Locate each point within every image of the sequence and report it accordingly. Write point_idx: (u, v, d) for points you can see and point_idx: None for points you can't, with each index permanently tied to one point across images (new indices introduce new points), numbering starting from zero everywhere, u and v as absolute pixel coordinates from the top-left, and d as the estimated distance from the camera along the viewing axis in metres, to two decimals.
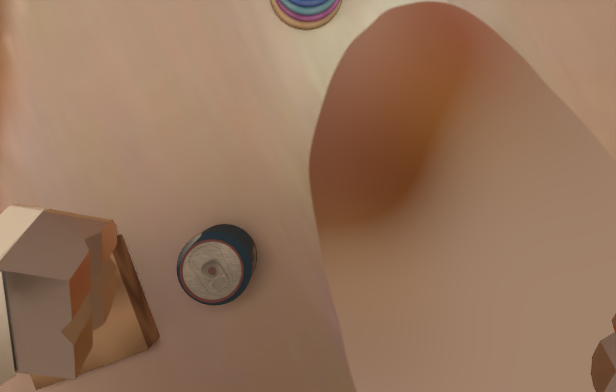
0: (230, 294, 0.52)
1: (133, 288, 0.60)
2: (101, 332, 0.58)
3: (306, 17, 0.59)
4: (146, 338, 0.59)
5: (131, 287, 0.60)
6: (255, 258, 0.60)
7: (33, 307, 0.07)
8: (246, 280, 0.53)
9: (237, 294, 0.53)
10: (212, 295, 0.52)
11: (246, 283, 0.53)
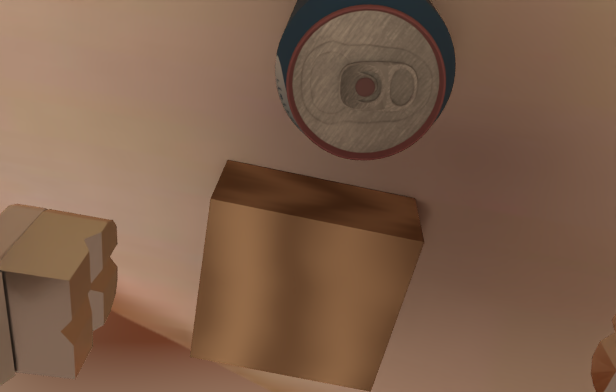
0: (441, 80, 0.20)
1: (316, 200, 0.33)
2: (350, 284, 0.33)
3: None
4: (406, 231, 0.32)
5: (313, 204, 0.33)
6: None
7: (33, 307, 0.07)
8: (435, 23, 0.20)
9: (451, 61, 0.21)
10: (416, 116, 0.21)
11: (442, 27, 0.21)
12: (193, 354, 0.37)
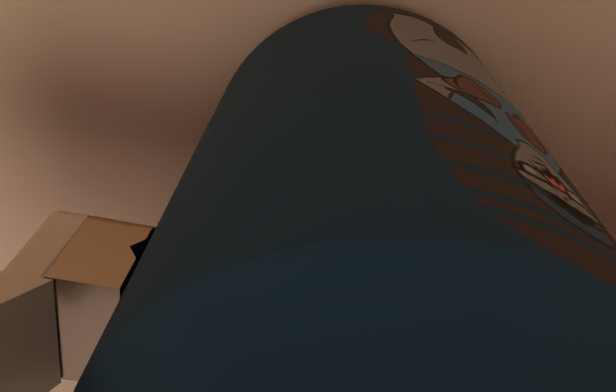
0: None
1: None
2: None
3: None
4: None
5: None
6: (460, 57, 0.10)
7: (82, 315, 0.07)
8: None
9: None
10: None
11: None
12: None
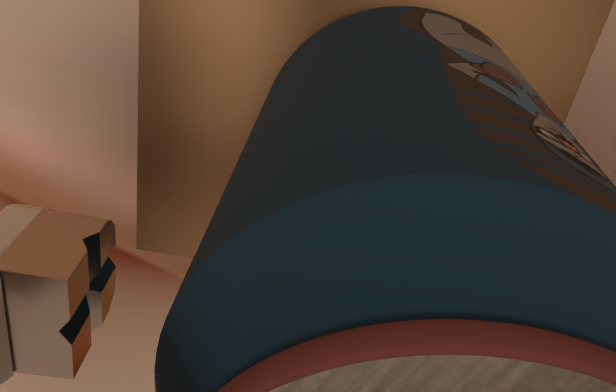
0: None
1: None
2: None
3: None
4: None
5: None
6: (486, 48, 0.11)
7: (31, 307, 0.07)
8: None
9: None
10: None
11: None
12: (143, 244, 0.19)
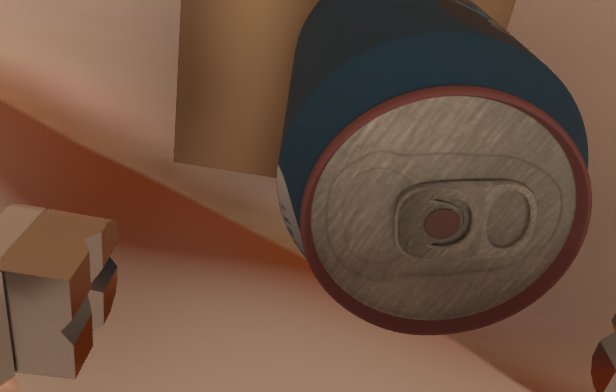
0: (580, 204, 0.11)
1: None
2: None
3: None
4: None
5: None
6: None
7: (33, 307, 0.07)
8: (562, 103, 0.11)
9: (586, 162, 0.12)
10: (530, 260, 0.12)
11: (571, 106, 0.12)
12: (178, 157, 0.24)
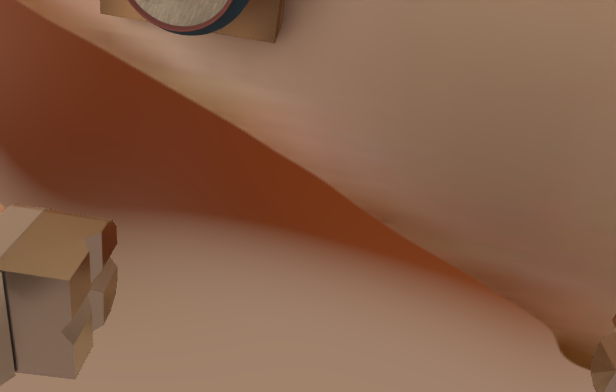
0: None
1: None
2: None
3: None
4: None
5: None
6: None
7: (33, 307, 0.07)
8: None
9: None
10: None
11: None
12: (103, 10, 0.39)
